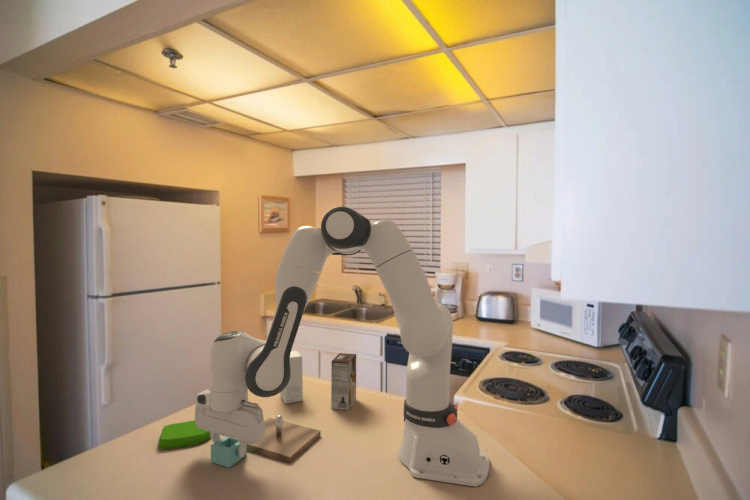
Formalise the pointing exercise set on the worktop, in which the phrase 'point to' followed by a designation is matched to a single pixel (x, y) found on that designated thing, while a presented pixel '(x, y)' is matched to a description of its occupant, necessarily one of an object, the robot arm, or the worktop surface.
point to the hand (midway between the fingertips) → (229, 451)
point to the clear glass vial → (279, 426)
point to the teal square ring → (226, 452)
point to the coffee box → (343, 381)
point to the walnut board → (284, 440)
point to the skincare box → (294, 380)
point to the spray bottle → (182, 435)
